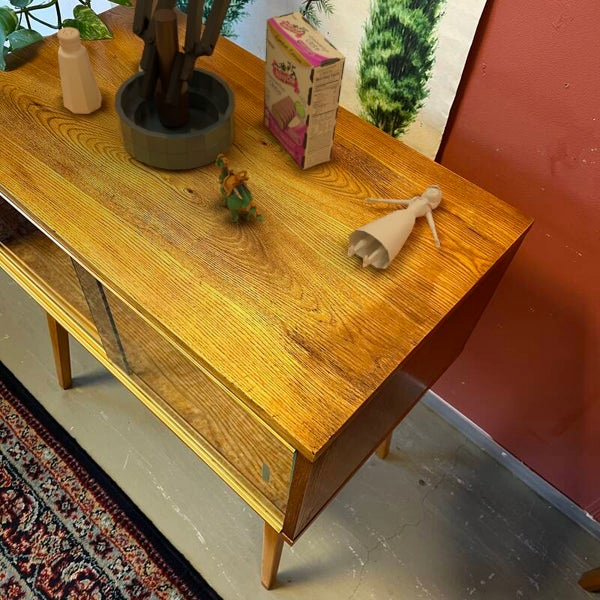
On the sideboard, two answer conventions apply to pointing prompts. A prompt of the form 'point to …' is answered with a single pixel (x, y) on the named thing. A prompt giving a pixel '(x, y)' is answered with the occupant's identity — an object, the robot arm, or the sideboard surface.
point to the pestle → (168, 69)
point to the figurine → (236, 190)
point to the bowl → (181, 139)
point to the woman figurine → (392, 228)
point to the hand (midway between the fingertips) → (158, 101)
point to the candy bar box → (301, 88)
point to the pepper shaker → (77, 74)
